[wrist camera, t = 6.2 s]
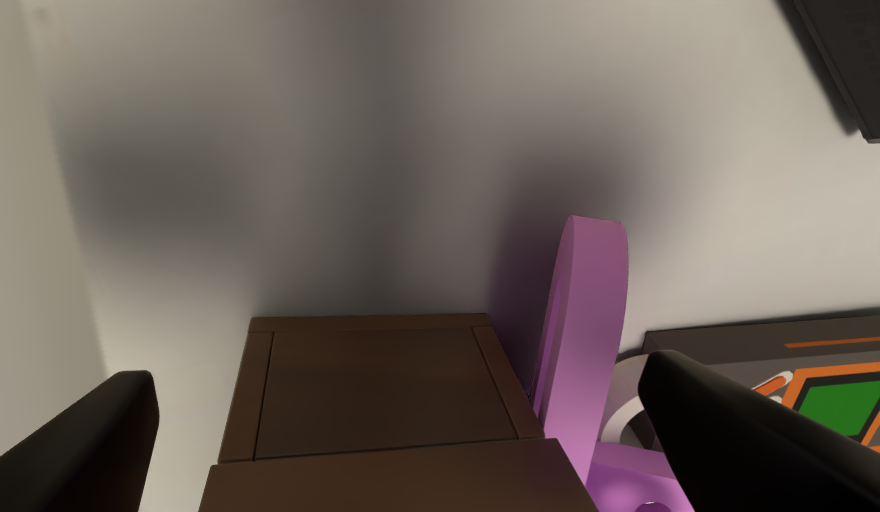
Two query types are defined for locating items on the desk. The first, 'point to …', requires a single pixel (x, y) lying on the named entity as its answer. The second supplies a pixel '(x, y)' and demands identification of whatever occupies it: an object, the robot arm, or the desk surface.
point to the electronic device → (767, 374)
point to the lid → (406, 481)
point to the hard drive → (850, 54)
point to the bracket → (594, 371)
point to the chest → (372, 387)
